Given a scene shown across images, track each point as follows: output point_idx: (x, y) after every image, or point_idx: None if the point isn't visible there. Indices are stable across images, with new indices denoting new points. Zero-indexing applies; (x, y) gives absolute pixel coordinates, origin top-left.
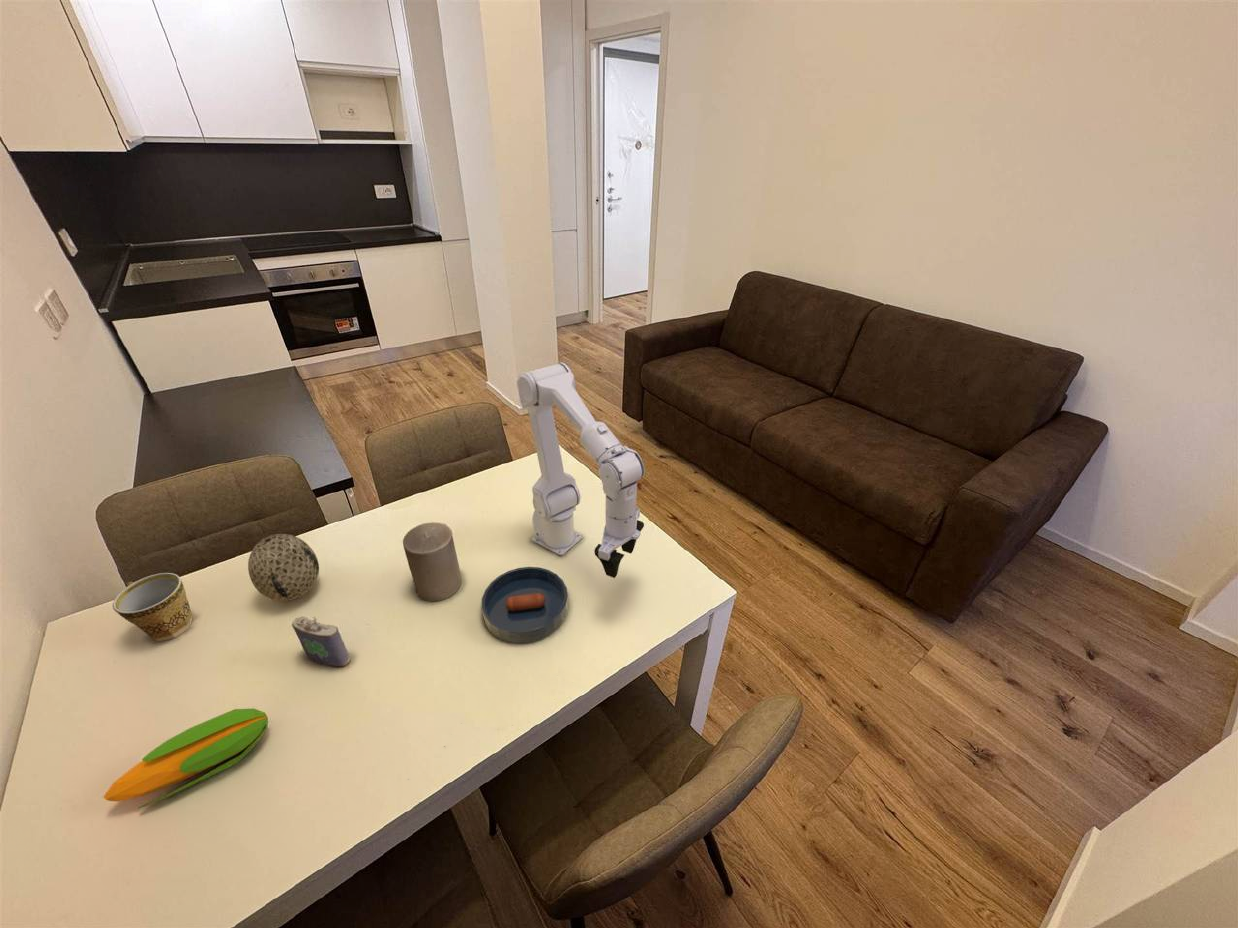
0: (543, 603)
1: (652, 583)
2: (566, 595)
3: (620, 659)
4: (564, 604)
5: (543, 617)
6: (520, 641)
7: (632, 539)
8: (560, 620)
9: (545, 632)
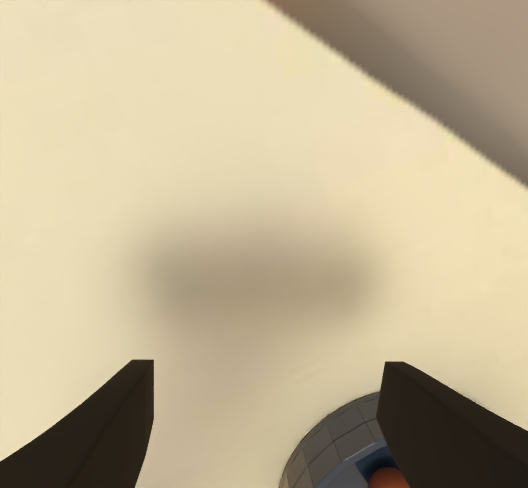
0: (399, 476)
1: (132, 187)
2: (375, 445)
3: (490, 177)
4: None
5: None
6: None
7: (95, 476)
8: None
9: None
